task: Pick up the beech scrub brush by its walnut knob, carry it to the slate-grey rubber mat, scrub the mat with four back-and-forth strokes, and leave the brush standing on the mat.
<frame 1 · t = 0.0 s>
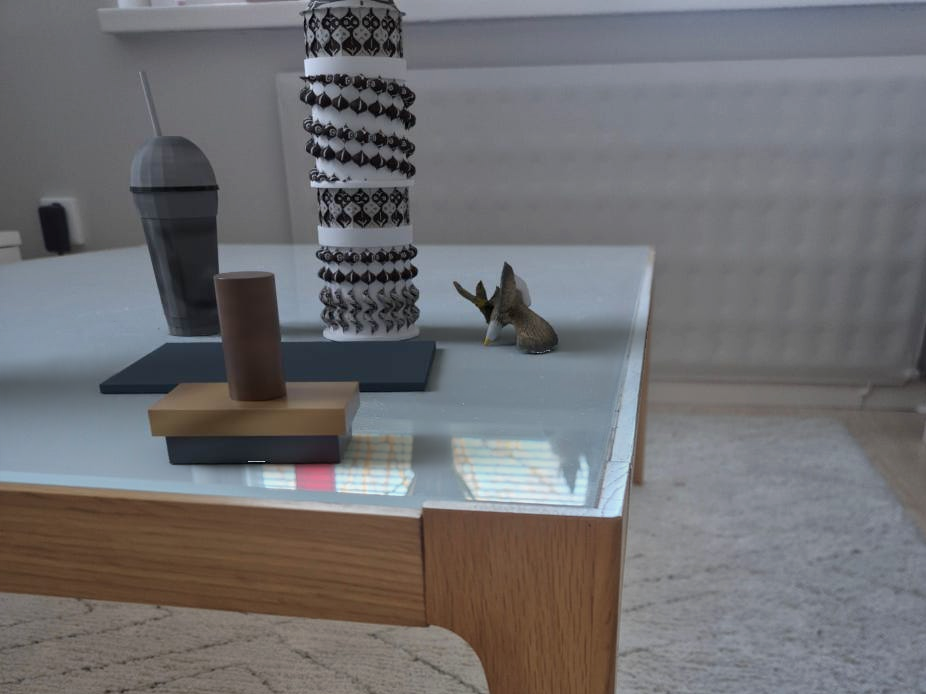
beverage cup: (196, 333, 84), on the table
mat: (283, 368, 70), on the table
brush: (264, 449, 51), on the table
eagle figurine: (509, 346, 78), on the table
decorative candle: (371, 336, 82), on the table
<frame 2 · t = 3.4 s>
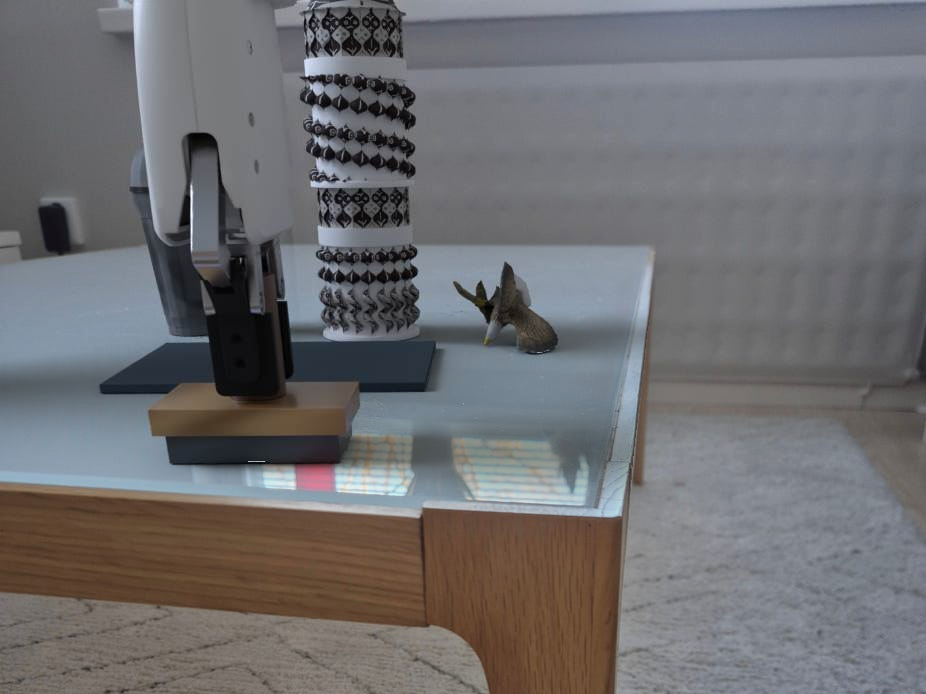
hand: (256, 382, 50), 4 cm above the table, tool pointing down, fingers closed on brush, 3 cm apart
brush: (264, 449, 51), on the table, touching gripper
everything else where it was.
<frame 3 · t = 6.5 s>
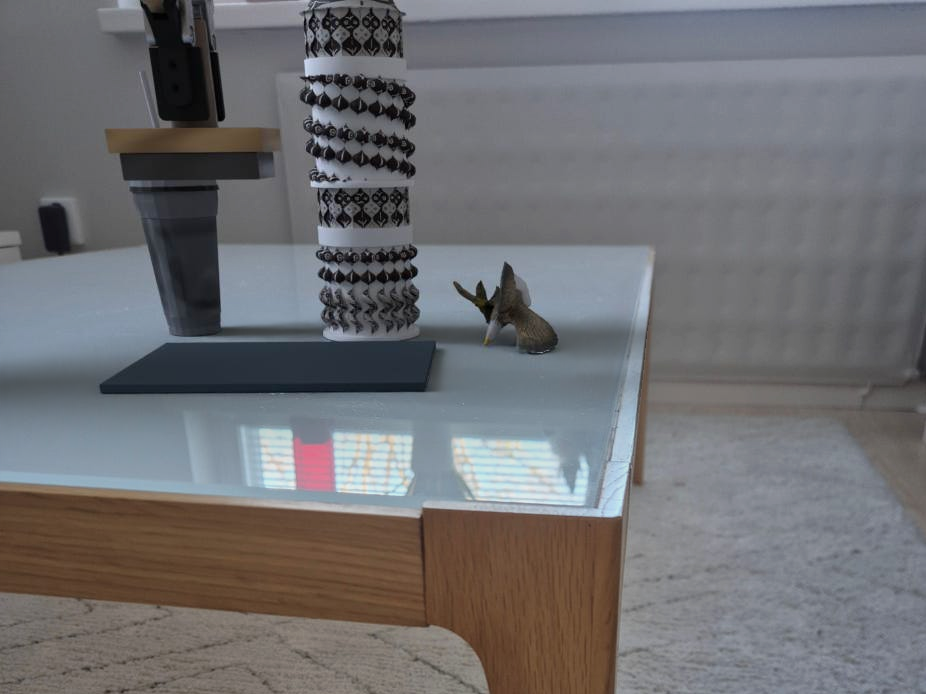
hand: (193, 118, 62), 16 cm above the table, tool pointing down, fingers closed on brush, 3 cm apart
brush: (202, 178, 64), point 13 cm above the table, touching gripper
everything else where it was.
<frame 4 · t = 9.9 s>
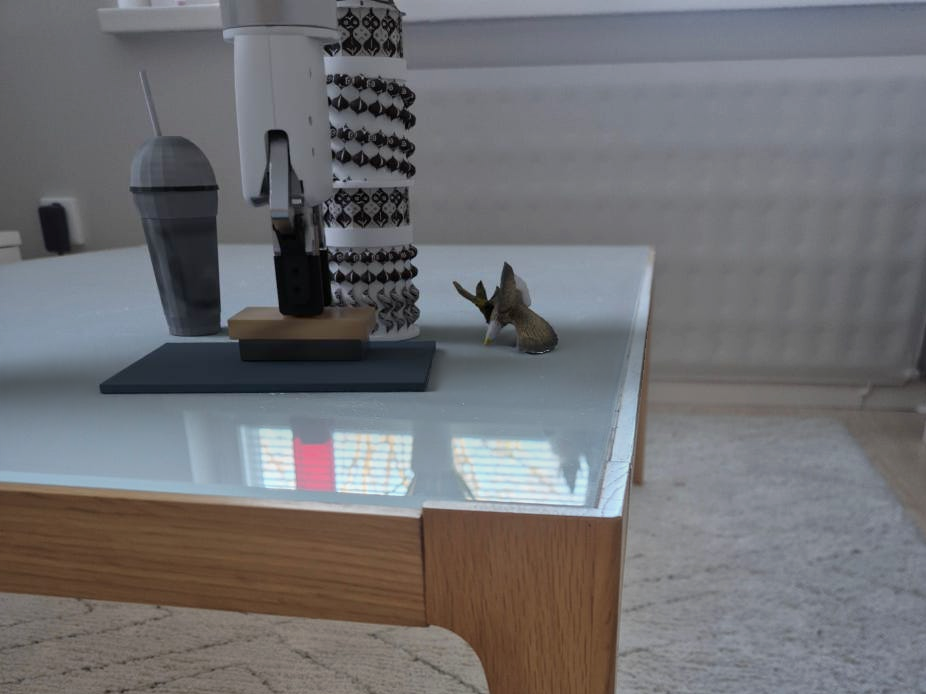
hand: (306, 307, 70), 4 cm above the table, tool pointing down, fingers closed on brush, 3 cm apart
brush: (307, 354, 71), point 1 cm above the table, touching gripper
everything else where it was.
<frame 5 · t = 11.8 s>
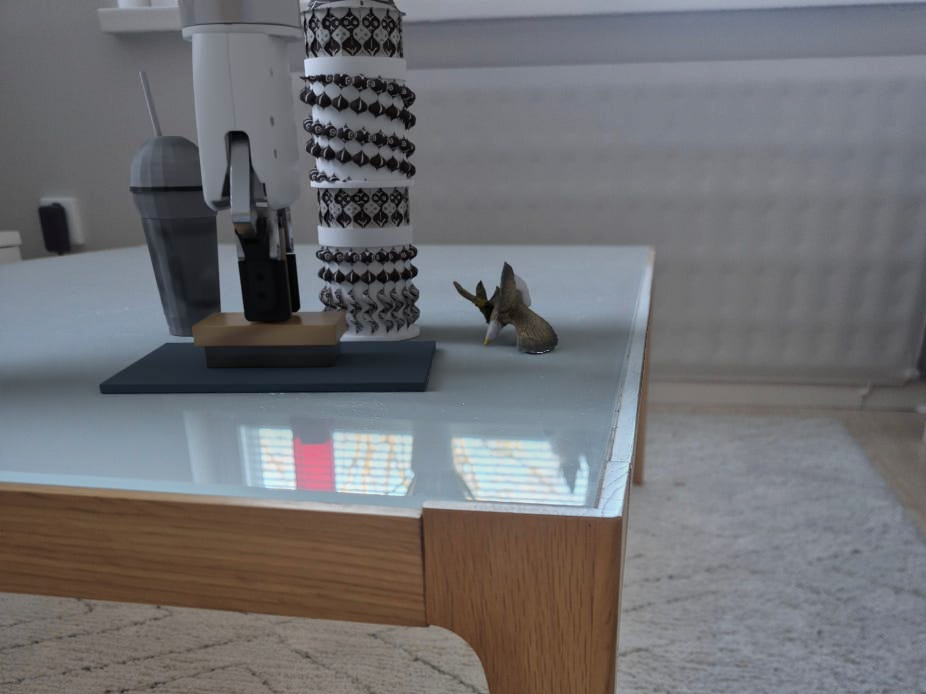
hand: (273, 313, 68), 4 cm above the table, tool pointing down, fingers closed on brush, 3 cm apart
brush: (276, 360, 70), point 1 cm above the table, touching gripper
everything else where it was.
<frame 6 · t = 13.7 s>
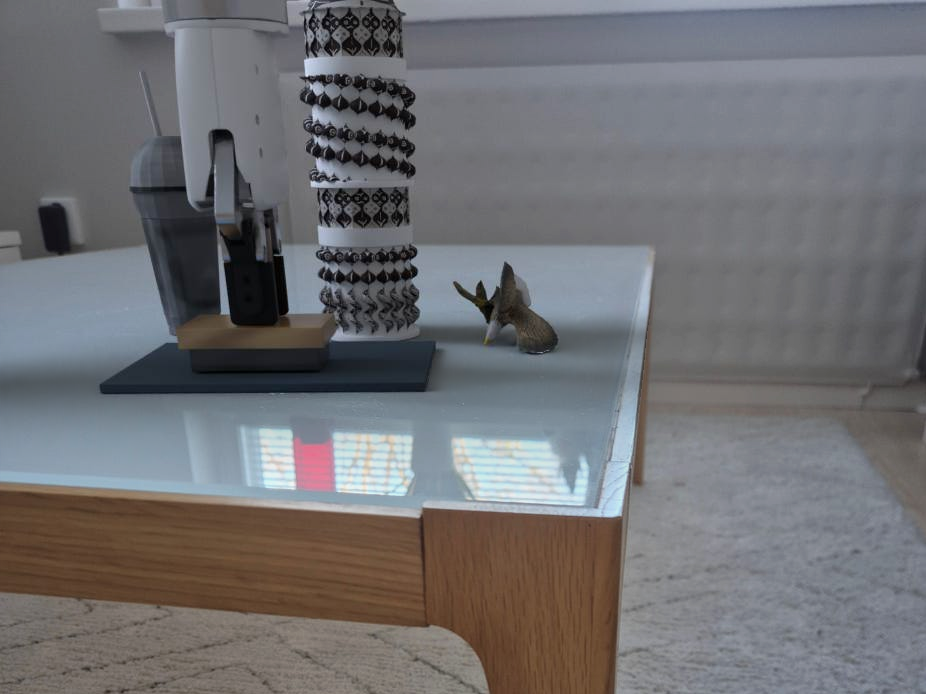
hand: (260, 317, 66), 4 cm above the table, tool pointing down, fingers closed on brush, 3 cm apart
brush: (263, 363, 68), point 1 cm above the table, touching gripper
everything else where it was.
when the fingers open (4 cm above the table, at t = 16.5 s): brush stays where it is, resting on mat.
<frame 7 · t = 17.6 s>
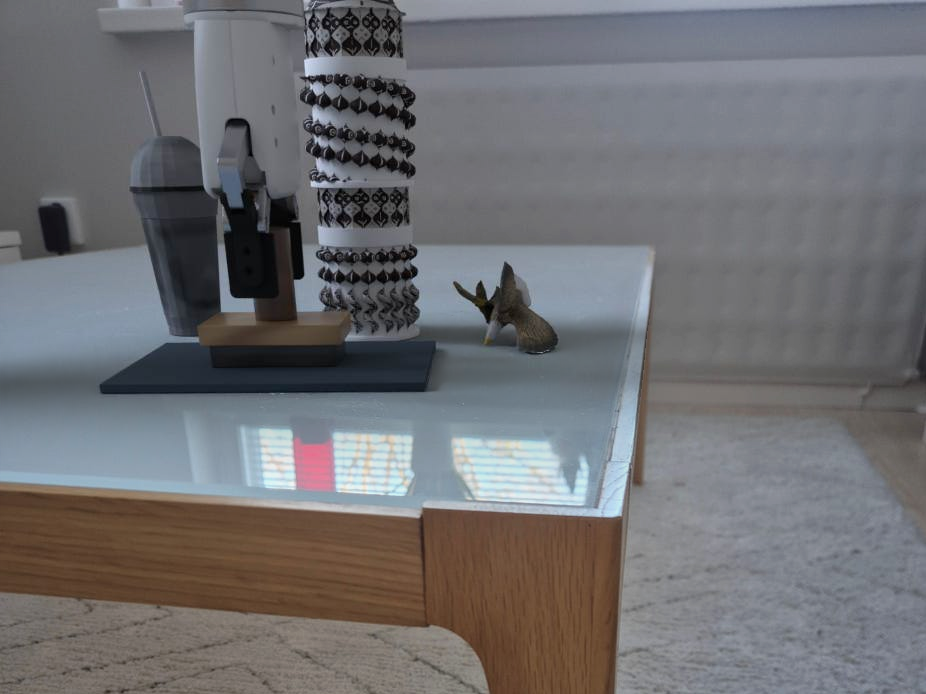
hand: (270, 287, 67), 6 cm above the table, tool pointing down, fingers open, 9 cm apart
brush: (281, 360, 70), point 1 cm above the table, touching mat
everything else where it was.
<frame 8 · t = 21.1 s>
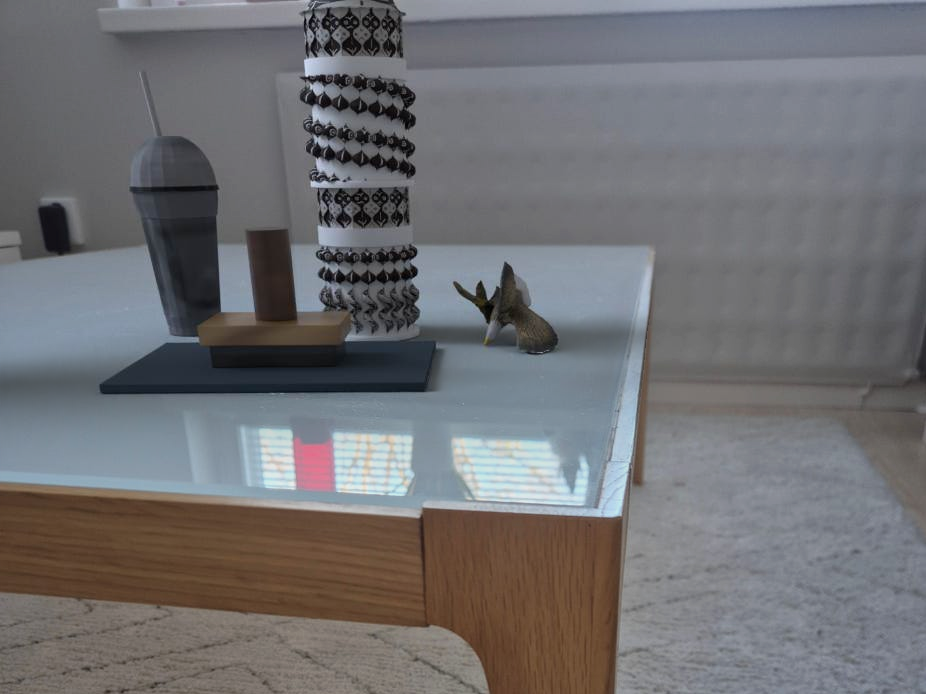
nothing on the table moved.
at the end: brush inside the target area on the mat (0.1 cm from its centre), point 0.6 cm above the mat's base; brush tilted 0°; brush moved 21.3 cm from its start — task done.
